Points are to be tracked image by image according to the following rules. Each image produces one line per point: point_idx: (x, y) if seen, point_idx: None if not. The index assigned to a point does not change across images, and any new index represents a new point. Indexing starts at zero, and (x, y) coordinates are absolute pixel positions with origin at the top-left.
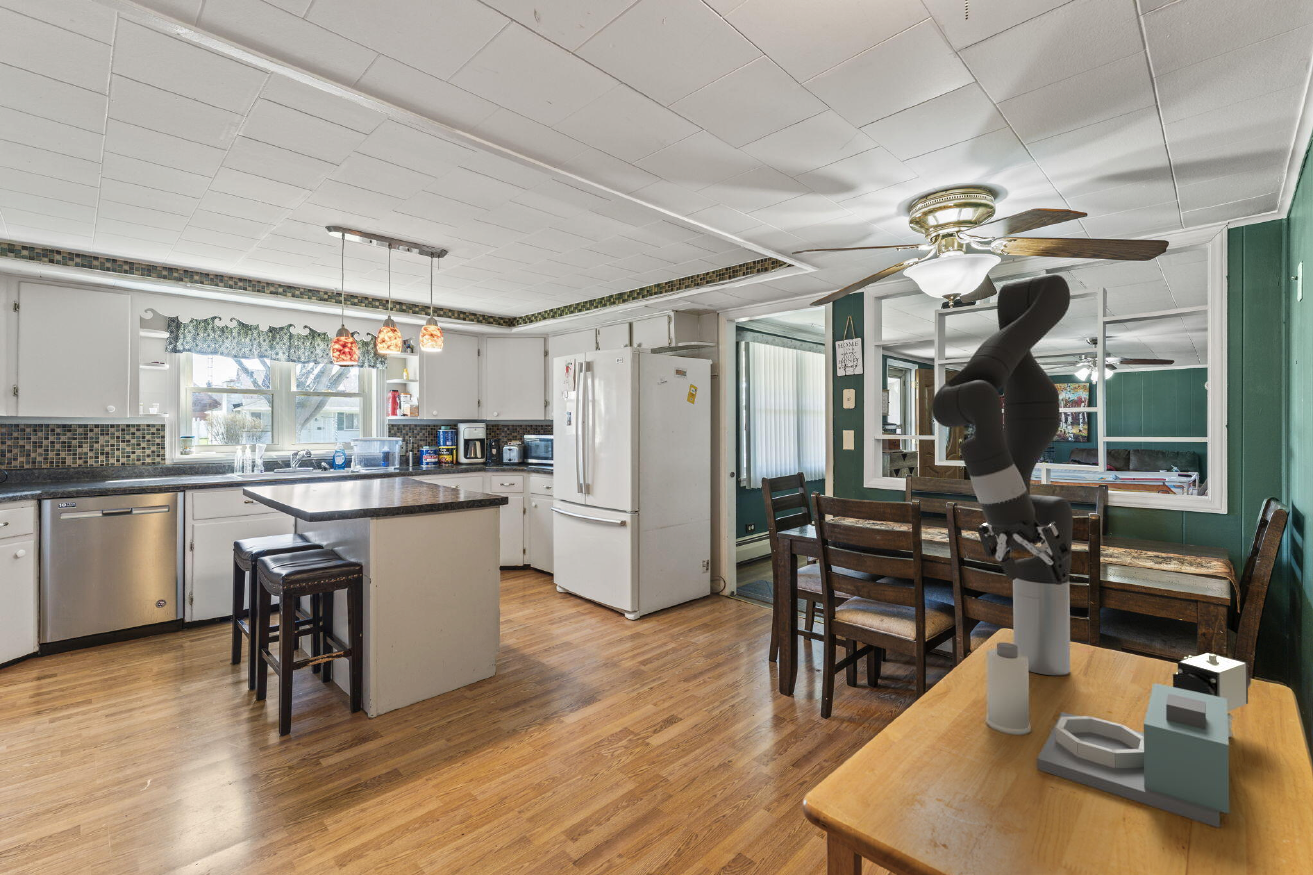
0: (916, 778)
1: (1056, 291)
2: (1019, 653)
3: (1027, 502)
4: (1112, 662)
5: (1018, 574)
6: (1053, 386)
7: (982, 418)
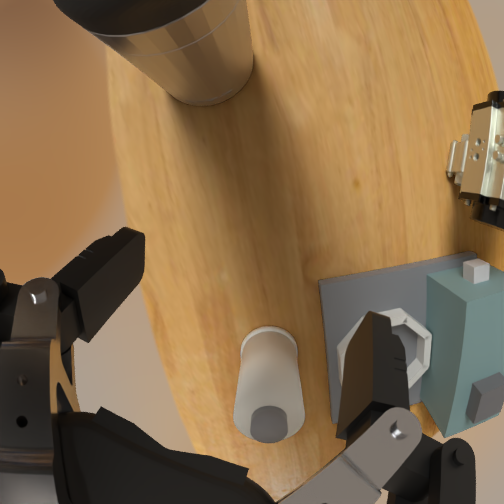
0: (257, 483)
1: None
2: (281, 398)
3: None
4: None
5: (140, 240)
6: None
7: None
